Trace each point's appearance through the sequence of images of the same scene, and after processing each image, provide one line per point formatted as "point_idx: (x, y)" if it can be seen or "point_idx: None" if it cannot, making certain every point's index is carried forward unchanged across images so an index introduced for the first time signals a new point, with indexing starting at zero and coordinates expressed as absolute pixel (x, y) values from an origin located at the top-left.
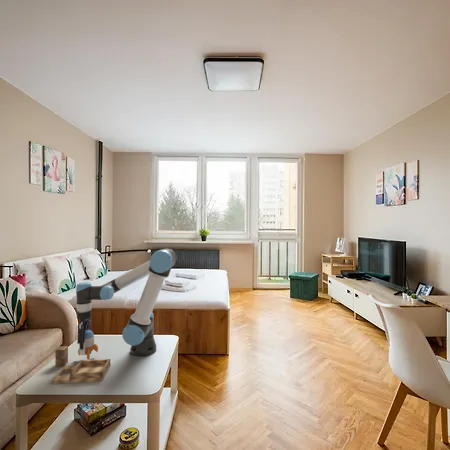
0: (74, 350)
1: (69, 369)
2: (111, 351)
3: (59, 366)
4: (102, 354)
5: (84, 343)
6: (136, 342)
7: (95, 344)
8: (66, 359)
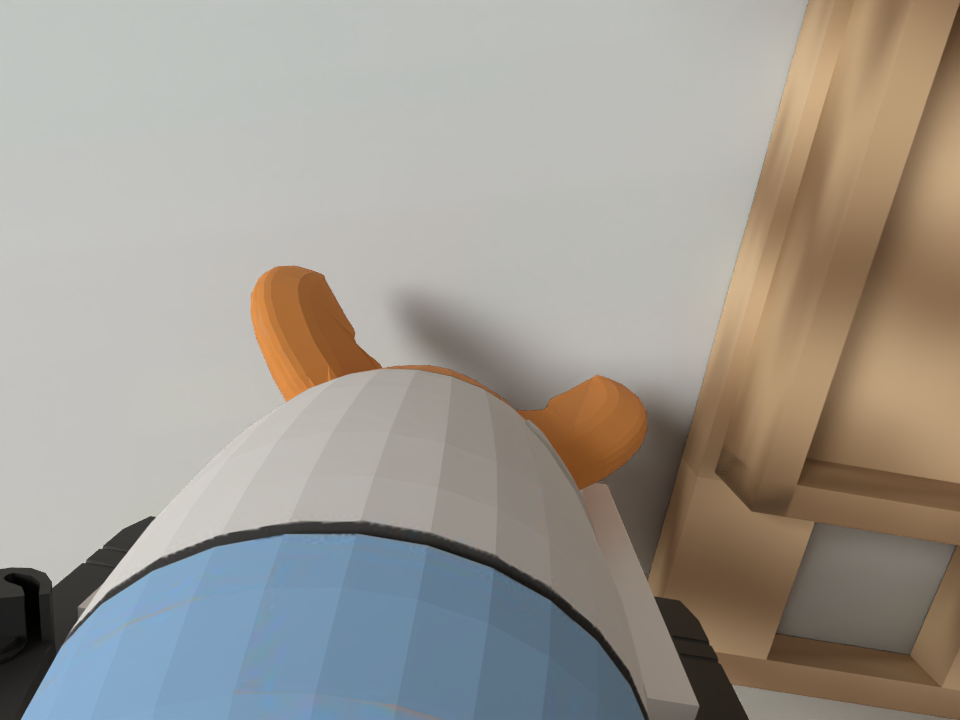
0: None
1: (785, 593)
2: (172, 26)
3: None
4: (280, 187)
5: (692, 689)
6: None
7: (283, 335)
8: None
